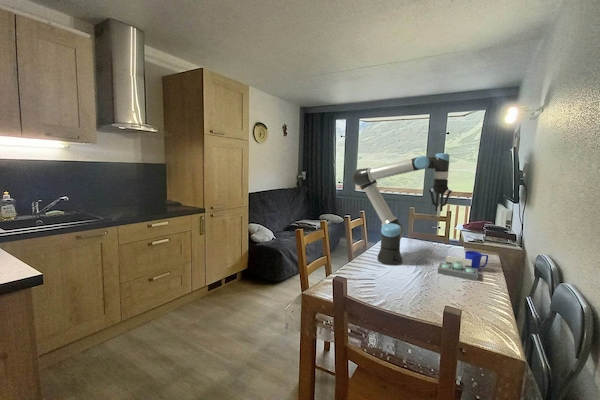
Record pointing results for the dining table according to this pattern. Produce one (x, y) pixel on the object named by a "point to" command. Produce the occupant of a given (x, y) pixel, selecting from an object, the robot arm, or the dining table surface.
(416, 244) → the dining table surface
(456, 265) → the button middle
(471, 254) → the mug
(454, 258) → the pattern card
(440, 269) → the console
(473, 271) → the button right
